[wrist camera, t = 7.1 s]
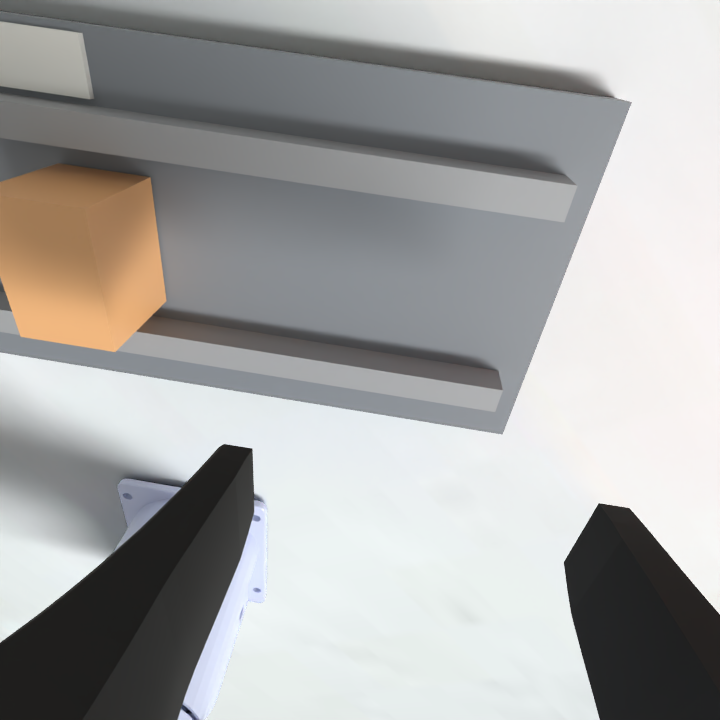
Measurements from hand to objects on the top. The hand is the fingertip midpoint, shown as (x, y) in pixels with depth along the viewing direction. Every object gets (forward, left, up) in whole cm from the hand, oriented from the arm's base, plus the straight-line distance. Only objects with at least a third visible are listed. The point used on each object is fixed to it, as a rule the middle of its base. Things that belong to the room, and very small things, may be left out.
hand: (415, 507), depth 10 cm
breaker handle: (+2, +11, -8) cm, 14 cm away
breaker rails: (+2, +8, -9) cm, 12 cm away
